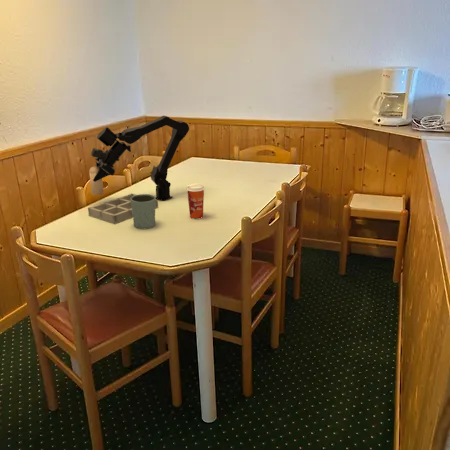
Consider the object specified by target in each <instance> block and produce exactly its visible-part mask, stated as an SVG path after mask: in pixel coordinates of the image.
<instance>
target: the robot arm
mask: <svg viewBox="0 0 450 450" xmlns="http://www.w3.org/2000/svg"><path fill="white" fill-rule="evenodd" d="M165 126H167V127H169V128H171V136H170V139H169V142H168V144H167V147H166V148H165V151H164V153H163V155H162V157H161V160H160V162H159V164H157V166H155V165H153V167H152V170H151V171H150V179H151V181H152V182H153V183H154V184H155V197H156V200H159V201H162V202H164V201H167V200H169V199H173V196H171V185H172V184H171V182H169V181H168V179H167V177H168V169H169V167H170V165H171V162H172V160H173V158H174V156H175V153H176V152H177V149H178V147H179V145H180V142H181V141H182V140H183V139H184V138H185V137H186V136H187V135H188V133H189V131H190V125H189V124H188V123H187V122H185V121H183V120H175V119H172V118H170V117H169V116H167V115H161V116H160V117H159V118H156V119H154V120H151V121H149V122H146V123H145V124H142V125H139V126H137V127H136V126H135V127H129V128H125V129H124V130H122V131H121V132H119V133H115V132H113V131H112V130H111V128H109V127H108V126H105V128H104V129H102V130H101V131H100V132H99V133H98V134H97V136H96V139H97V140H98V141H99V142H101V143H102V144H103V145H105V147H110V148H109V149H106V150H105V151H103V150H102V149H100V148H95V147H93V148H92V150H91V152H90V156H92V157H94V160H95V162H94V163H95V166H97V167H99V171H98V172H97V174H96V176H95V177H94V179H93V181H94V182H96V181H98V180H100V179H102V180H103V178H106V177H108V176H114V175H115V173H116V171H115V168H114V165H115V164H116V163H117V162H119V161H120V158H121V157H122V155H124V153H125V152H126V151H128V153H131V152H132V150H131V149H132V148H131V147H132V146H131V145H132V144H134V143H136V142H138V141H139V140H140V139H141V138H142V137H143V136H145V135H147V134H149V133H152V132H154V131H156V130H159V129H161V128H163V127H165Z"/></svg>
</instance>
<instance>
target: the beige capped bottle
mask: <svg viewBox="0 0 450 450" xmlns="http://www.w3.org/2000/svg"><path fill="white" fill-rule="evenodd" d="M98 171H99V167H97V166H96V165H94V166H91V167H90V168H89V171H88V172H89V180H90V188H91V195H94V196H98V195H102V194H104V184H103V178H102V179H100V180H98V181H96V182H94V181H93V179H94V177H95V176H96V174H97V172H98Z"/></svg>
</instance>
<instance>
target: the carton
mask: <svg viewBox="0 0 450 450" xmlns="http://www.w3.org/2000/svg"><path fill="white" fill-rule="evenodd" d="M135 195H136V194H135V193H129V194H126V195H124V196H120V197H117V198H115V199H111V200H108V201H105V202H102V203H99V204H96V205H93V206H90V207H88V208H87V209H88V210H87V212H88V216H89V217H92V218H95V219H98V220H100V221H104V222H107V223H111V224H112V225H113V224H114V225H116V224H119V223H121V222H124V221H126V220H129V219H132V218H134V217H133V212H132V206H131V200H130V198H131V197H132V196H135ZM158 208H159V201H158V199H156V202H155V210H156V209H158Z"/></svg>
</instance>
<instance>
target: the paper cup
mask: <svg viewBox="0 0 450 450" xmlns="http://www.w3.org/2000/svg"><path fill="white" fill-rule="evenodd" d="M186 187H187V188H186V192H187V202H188V208H189V210H188V212H189V217H191V219H192V218H200V219H202V218H203V217H204V200H205V197H204V195H205V193H204V192H205V189H206V188H205V186H204V184H201V183H190V184H188V185H187V186H186ZM201 217H202V218H201Z"/></svg>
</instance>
